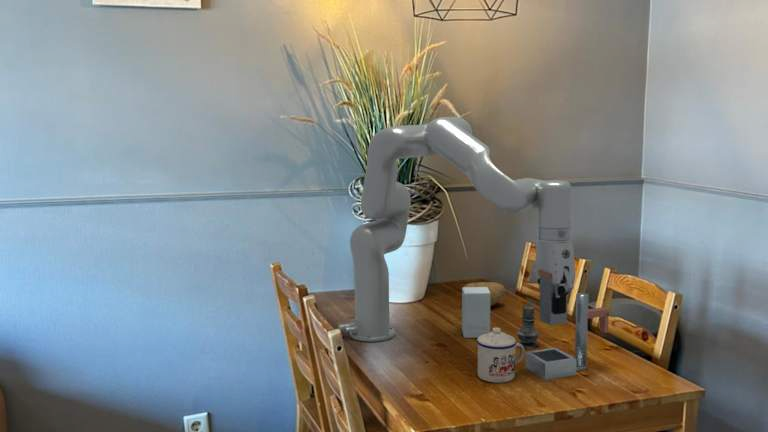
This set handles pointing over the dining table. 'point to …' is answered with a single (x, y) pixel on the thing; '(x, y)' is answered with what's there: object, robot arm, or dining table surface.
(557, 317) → the grey tall block
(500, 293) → the potato
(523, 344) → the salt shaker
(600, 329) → the water pump with trough
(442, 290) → the dining table surface
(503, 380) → the teacup with lid
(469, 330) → the supplement box
